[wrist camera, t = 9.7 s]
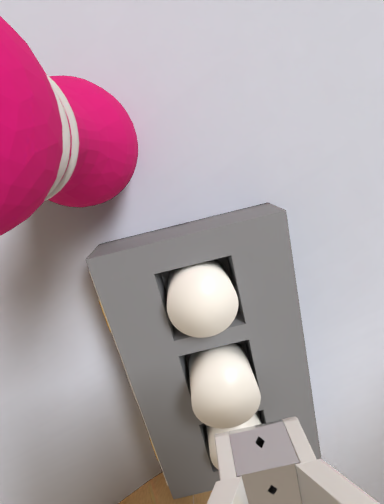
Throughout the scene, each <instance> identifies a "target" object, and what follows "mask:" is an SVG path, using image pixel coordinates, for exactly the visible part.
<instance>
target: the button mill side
mask: <svg viewBox="0 0 384 504" xmlns="http://www.w3.org/2000/svg"><path fill="white" fill-rule="evenodd" d="M237 311H238V297H237V293H236V291H235V289H234V287H233V285H232V283H231V281H230V279H229V277H228V274H227V272H226V270H225V268H224V267H223V265H222V264H221V263H220V262H219V261H218V260H216V259H214V260H210V261H206V262H202V263H198V264H194V265H190V266H186V267H182V268H178V269H174V270H171V272H170V274H169V278H168V292H167V312H168V316H169V319H170V321H171V322H172V324H173V325H174V326H175V327H176V328H177V329H178V330H179V331H180V332H182V333H184V334H186V335H188V336H192V337H197V338H205V337H211V336H214V335H217V334H219V333H221V332H223V331H224V330H225V329H227V328H228V327H229V326H230V325H231V323H232V322H233V320H234V319H235V317H236V315H237Z"/></svg>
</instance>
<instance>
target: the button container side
mask: <svg viewBox="0 0 384 504" xmlns="http://www.w3.org/2000/svg"><path fill="white" fill-rule="evenodd" d="M259 424H262V423H261V420H260V417H259V414H258V411H257V412H256V413H255V414H254V416H253V417H252V418H251V419H249V420H248V421H247V422H245V423H243V424H241V425H239V426H236V427H233V428H226V429H220V428H214V427H210V426H208V425H206V427H207V435H208V443H209V451H210V458H211V461H212V463H213V465H214V466H215V467H216V468H217V469H218V470H219V468H218V461H217V453H216V446H215V434H217V433H222V432H227V431H228V432H229V431H231V430H237V429H242V428H247V427H252V426H255V425H259Z"/></svg>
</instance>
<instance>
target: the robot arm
mask: <svg viewBox="0 0 384 504" xmlns="http://www.w3.org/2000/svg"><path fill="white" fill-rule="evenodd" d="M215 446H216V453H217V461H218V468H219V476H220V481H217V482H216V483H215V485H214V488H213V490H212V492H211V495H210V497H209V500H208V502H207V504H380V503H379V502H377V501H376V500H375V499H374V498H372V497H371V496H370V495H368V494H367V493H366V492H364V491H363V490H362V489H360V488H359V487H358V486H356V485H355V484H354V483H352V482H351V481H350V480H349V479H347V478H346V477H345V476H343V475H342V474H341V473H339V472H338V471H337V470H335V469H334V468H333V467H331V466H330V465H329V464H328V463H326V462H325V461H324V460H322V459H316V457H315V455H314V452H313V450H312V448H311V446H310V444H309V442H308V440H307V437H306V435H305V433H304V431H303V429H302V427H301V425H300V422H299V420H298V418H297V417H296V416H294V417H290V418H285V419H282V420H281V419H280V420H276V421H272V422H267V423H263V424H259V425H255V426H252V427H247V428H242V429H237V430H231V431H229V432H228V431H227V432H222V433H217V434H215Z"/></svg>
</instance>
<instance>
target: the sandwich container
mask: <svg viewBox="0 0 384 504" xmlns="http://www.w3.org/2000/svg"><path fill="white" fill-rule="evenodd" d="M211 492H212V491H208V492H203V493H199V494H195V495H191V496H186V497H182V498H178V499H174V500H173V497H172V494H171V491H170V489H169V486H168V485H167V483H166V480H165V477H164V475H163V472H162V473H160V474H159V475H157V476H156V477H154V478H153V479H151V480H150V481H148V482H147V483H145V484H144V485H143V486H141V487H140V488H139V489H137V490H136V491H135V492H133V493H132V494H130V495H129V496H128V497H126V498H125V499H124V500H122V501H121V502H120V503H118V504H207V502H208V500H209V497H210V495H211Z"/></svg>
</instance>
